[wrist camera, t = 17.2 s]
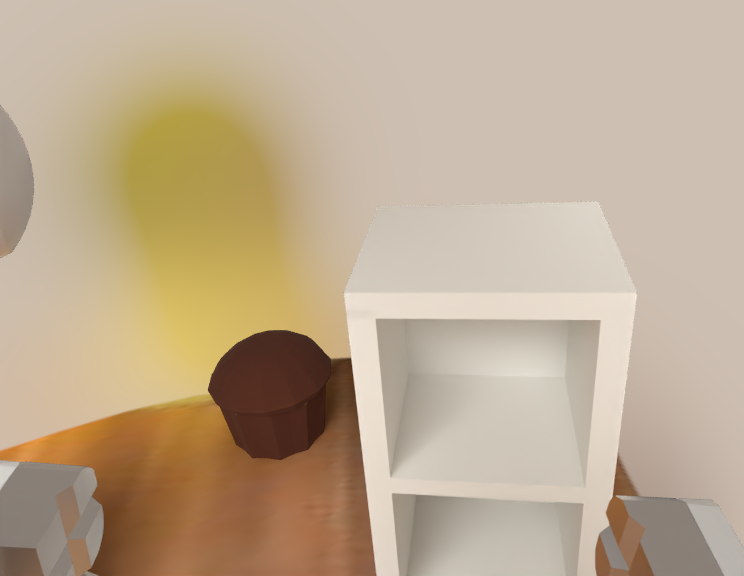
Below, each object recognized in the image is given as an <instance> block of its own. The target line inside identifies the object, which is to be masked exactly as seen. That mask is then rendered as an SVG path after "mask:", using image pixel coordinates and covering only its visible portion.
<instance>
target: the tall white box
mask: <svg viewBox="0 0 744 576" xmlns="http://www.w3.org/2000/svg"><path fill="white" fill-rule="evenodd" d="M636 298H637V291H636V289H635V286H634V284H633V282H632V280H631V277H630V275H629V272H628V270H627V268H626V265H625V263H624V261H623V258H622V256H621V254H620V251H619V249H618V247H617V244H616V242H615V240H614V238H613V235H612V233H611V230H610V228H609V226H608V223H607V221H606V219H605V216H604V214H603V211H602V209H601V207H600V204H599V202H561V203H560V202H559V203H516V204H476V205H475V204H474V205H429V206H388V207H387V206H385V207H378V208H377V210H376V213H375V216H374V218H373V221H372V223H371V226H370V228H369V231H368V233H367V236H366V238H365V241H364V243H363V246H362V248H361V251H360V254H359V256H358V258H357V261H356V264H355V266H354V268H353V271H352V273H351V276H350V278H349V281H348V283H347V286H346V288H345V291H344V299H345V308H346V316H347V324H348V334H349V342H350V350H351V359H352V368H353V377H354V385H355V394H356V403H357V411H358V420H359V428H360V437H361V446H362V454H363V463H364V471H365V480H366V489H367V497H368V506H369V514H370V523H371V532H372V540H373V549H374V557H375V566H376V575H377V576H597V575H596V569H595V548H596V544H597V540H598V536H599V533H600V532H601V531H603V530H604V529H606V528H607V527H608V526H609V521H608V518H607V515H606V510H607V507H608V504H609V501H610V500H611V499H612V496H613V487H614V479H615V471H616V463H617V455H618V446H619V438H620V430H621V422H622V413H623V405H624V397H625V389H626V381H627V372H628V364H629V356H630V348H631V340H632V331H633V323H634V315H635V307H636Z"/></svg>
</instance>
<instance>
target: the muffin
mask: <svg viewBox="0 0 744 576" xmlns="http://www.w3.org/2000/svg"><path fill="white" fill-rule="evenodd" d="M330 375H331V359H330V358H329V357H328V356H327V355H326V354H325V353H324V352H323V350H322V349H321V348H320V347H319V346H318V345H317V344H316V343H315V342H314V341H313V340H312V339H310V338H309V337H307V336H305V335H302V334H298V333H295V332H291V331H286V330H273V331H265V332H261V333H257V334H254V335H252V336H250V337H248V338H246V339H244V340H242V341H240V342H238V343H237V344H235V345H234V346H233V347H232V348H231V349H230V350H229V351H228V352H227V353H226V354H225V355H224V356H223V357H222V358H221V359H220V361H219V362H218V364H217V366H216V368H215V370H214V372H213V374H212V376H211V380H210V383H209V388H208V391H209V393H210V395H211V396H212V398H213V399H214V401H215V403H216V404H217V405H218V406H220V408H221V411H222V413H223V415H224V417H225V420H226V422H227V424H228V427H229V429H230V431H231V434H232V436H233V438H234V441H235V443H236V445H237V446H239V447H241V448H242V449H244V450H245V451H246V452H247V453H248V454H249V455H250V456H251V457H252V458H271V459H278V460H282V459H284V458H286V457H288V456H290V455H293V454H295V453H298V452H301V451H305V450H308V449H309V448H310V446H311V445H312V444H313V442H314V441H315V440H316V439H317V438H318V437H319V436H320V435H321V434H322V433H323V432H324V415H325V390H326V382H327V381H328V379H329V377H330Z"/></svg>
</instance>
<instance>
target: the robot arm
mask: <svg viewBox="0 0 744 576" xmlns="http://www.w3.org/2000/svg"><path fill="white" fill-rule="evenodd" d="M33 195H34V179H33V172H32V165H31V162H30V158H29V154H28V151H27V149H26V147H25V143H24V141H23V138H22V137H21V135H20V133H19V131H18V129H17V127H16V125H15V124H14V122H13V121H12V120H11V118H10V117H9V115H8V114H7V113H6V111H5V110H4V109H3V108H2V107H1V105H0V258H1V257H4V256H6V255H8V254H10V253H11V252H13V250H14V249H15V247H16V246H17V244H18V242H19V241H20V239H21V237H22V235H23V233H24V231H25V229H26V226H27V223H28V220H29V218H30V214H31V209H32V205H33ZM97 485H98V484H97V480H96V476H95V473H94V469H92V468H90V467H86V466H74V465H61V464H49V463H37V462H16V461H4V460H0V576H98V575H96V574H94V573H91V572H88V570H89V569H90V568H92V565H93V563H94V561H95V559H96V556H97V554H98V552H99V549H100V545H101V540H102V536H103V532H104V515H103V510H102V505H101V504H99V503H98V502H97V501H96V500H95V499H94V498H93V497H92V495H93V493H94V491H95V489H96V487H97ZM606 515H607V518H608V521H609V523H610V526H608V527H607V528H606V529H604V530H603V531H601V532H600V533H599V536H598V540H597V544H596V548H595V569H596V575H597V576H744V547H743V545H742V544H741V542H740V540H739V539H738V537H737V535H736V534H735V532H734V530H733V529H732V527H731V525H730V524H729V522H728V520H727V519H726V517H725V515H724V514H723V512H722V510H721V508H720V507H719V505H718V504H716V503H715V502H714V501H713V500H705V499H683V498H679V499H676V498H659V497H638V496H616V495H615V496H614V497H613V498H612V499H611V500H610V501H609V504H608V507H607V510H606Z"/></svg>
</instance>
